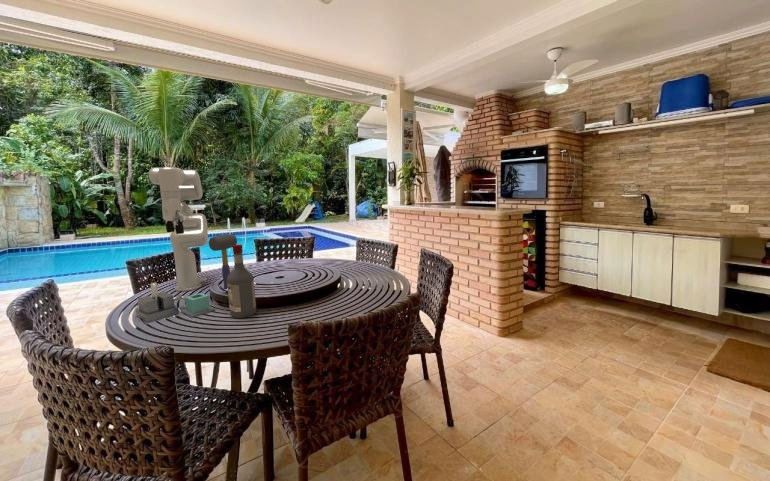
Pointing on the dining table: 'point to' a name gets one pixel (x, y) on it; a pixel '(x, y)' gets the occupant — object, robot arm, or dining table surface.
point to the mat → (197, 313)
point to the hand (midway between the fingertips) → (175, 232)
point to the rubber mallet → (223, 251)
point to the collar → (197, 303)
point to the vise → (157, 305)
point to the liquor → (240, 287)
